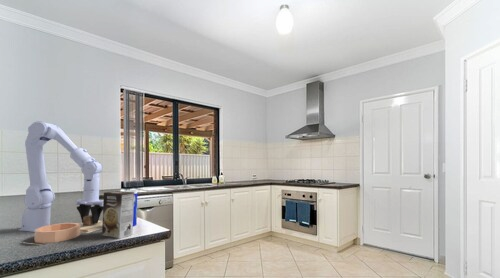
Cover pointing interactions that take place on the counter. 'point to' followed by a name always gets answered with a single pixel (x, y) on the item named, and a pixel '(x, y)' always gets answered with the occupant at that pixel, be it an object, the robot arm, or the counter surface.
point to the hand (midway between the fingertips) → (90, 222)
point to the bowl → (56, 232)
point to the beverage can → (134, 207)
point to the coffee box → (118, 214)
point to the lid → (89, 224)
